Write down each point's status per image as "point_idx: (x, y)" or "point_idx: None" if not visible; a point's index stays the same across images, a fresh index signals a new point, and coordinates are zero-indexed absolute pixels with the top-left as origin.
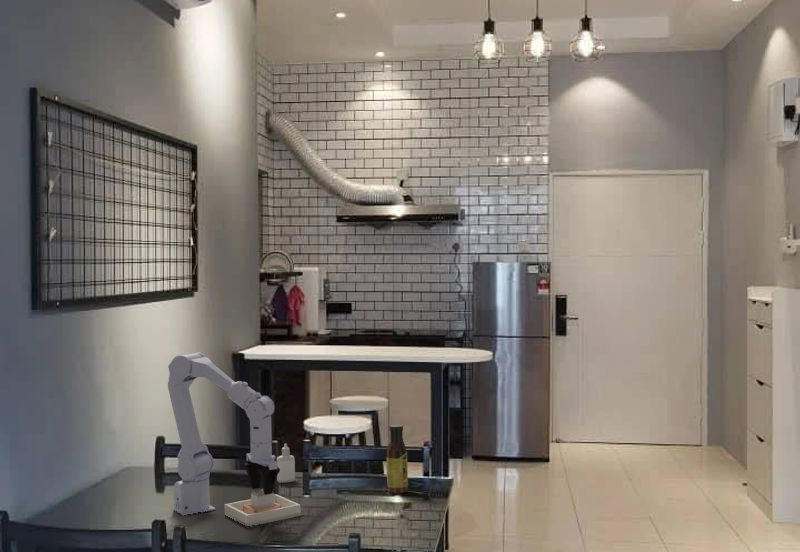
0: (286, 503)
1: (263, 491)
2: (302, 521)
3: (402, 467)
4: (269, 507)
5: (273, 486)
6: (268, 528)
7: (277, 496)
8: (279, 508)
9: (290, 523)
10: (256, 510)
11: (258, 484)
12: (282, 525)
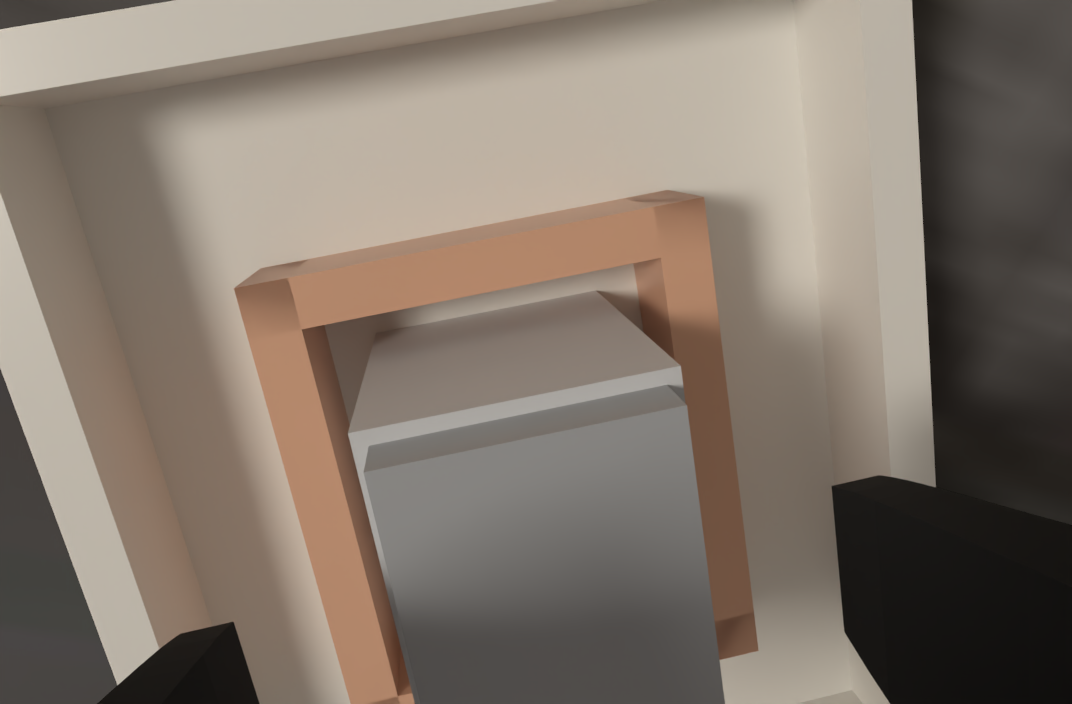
0: (466, 25)
1: (645, 613)
2: (1062, 14)
3: None
4: (707, 416)
5: (1022, 519)
6: (1049, 491)
7: (78, 83)
8: (898, 304)
9: (1040, 196)
10: (754, 624)
11: (221, 698)
12: (1049, 314)
